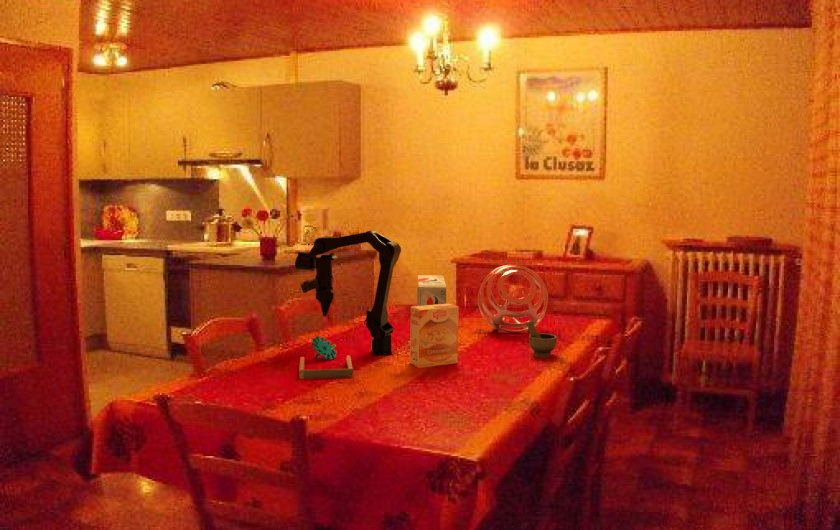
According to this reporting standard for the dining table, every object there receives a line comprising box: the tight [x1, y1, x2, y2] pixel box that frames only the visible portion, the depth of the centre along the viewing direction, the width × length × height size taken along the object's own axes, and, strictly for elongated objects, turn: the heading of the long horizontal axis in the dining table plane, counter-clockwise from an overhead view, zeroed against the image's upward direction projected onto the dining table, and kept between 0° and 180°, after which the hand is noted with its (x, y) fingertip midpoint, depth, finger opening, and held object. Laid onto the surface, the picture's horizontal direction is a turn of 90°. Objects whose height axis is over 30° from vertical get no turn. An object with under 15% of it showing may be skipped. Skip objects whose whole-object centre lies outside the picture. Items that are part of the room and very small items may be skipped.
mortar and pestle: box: [526, 320, 558, 359], centre depth 262 cm, size 11×9×12 cm
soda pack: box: [416, 274, 447, 306], centre depth 345 cm, size 41×13×14 cm, turn 0°
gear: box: [311, 335, 338, 361], centre depth 255 cm, size 11×6×10 cm
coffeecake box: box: [409, 303, 460, 369], centre depth 249 cm, size 15×7×20 cm, turn 117°
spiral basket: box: [477, 264, 549, 334], centre depth 301 cm, size 28×28×27 cm
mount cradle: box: [298, 355, 354, 380], centre depth 240 cm, size 16×17×2 cm
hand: (324, 314), depth 269 cm, fingers open, 5 cm apart
